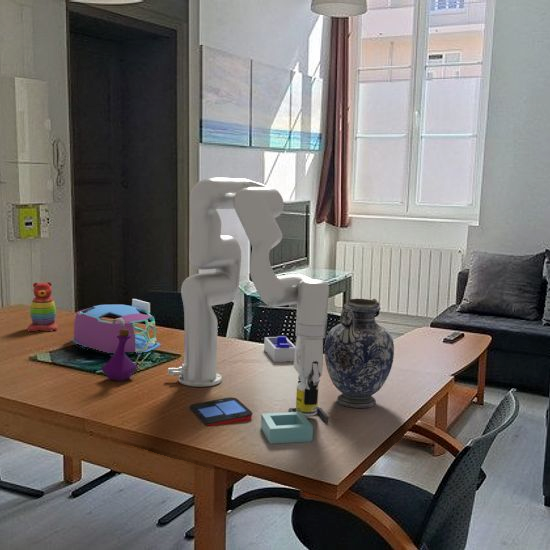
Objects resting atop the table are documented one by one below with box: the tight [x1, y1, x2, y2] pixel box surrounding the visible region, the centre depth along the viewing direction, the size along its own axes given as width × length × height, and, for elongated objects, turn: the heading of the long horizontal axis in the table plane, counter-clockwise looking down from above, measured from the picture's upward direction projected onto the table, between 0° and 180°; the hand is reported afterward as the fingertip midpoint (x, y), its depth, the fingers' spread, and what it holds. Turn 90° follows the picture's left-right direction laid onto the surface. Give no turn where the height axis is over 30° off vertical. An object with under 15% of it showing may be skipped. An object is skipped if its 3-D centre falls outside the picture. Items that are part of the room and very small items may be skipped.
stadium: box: [71, 298, 162, 353], centre depth 238 cm, size 35×24×14 cm
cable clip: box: [273, 335, 289, 348], centre depth 228 cm, size 12×4×6 cm, turn 4°
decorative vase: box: [324, 298, 395, 409], centre depth 182 cm, size 21×19×28 cm
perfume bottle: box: [101, 317, 138, 382], centre depth 196 cm, size 8×8×18 cm
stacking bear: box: [26, 282, 59, 332], centre depth 256 cm, size 11×10×18 cm
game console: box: [189, 396, 253, 427], centre depth 172 cm, size 14×13×2 cm
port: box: [260, 411, 314, 445], centre depth 159 cm, size 10×10×4 cm
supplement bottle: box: [295, 374, 319, 417], centre depth 169 cm, size 5×5×10 cm
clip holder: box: [263, 336, 296, 363], centre depth 229 cm, size 8×16×4 cm, turn 13°
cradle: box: [287, 406, 329, 423], centre depth 170 cm, size 9×7×2 cm
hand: (307, 399), depth 169 cm, fingers closed on supplement bottle, 5 cm apart
